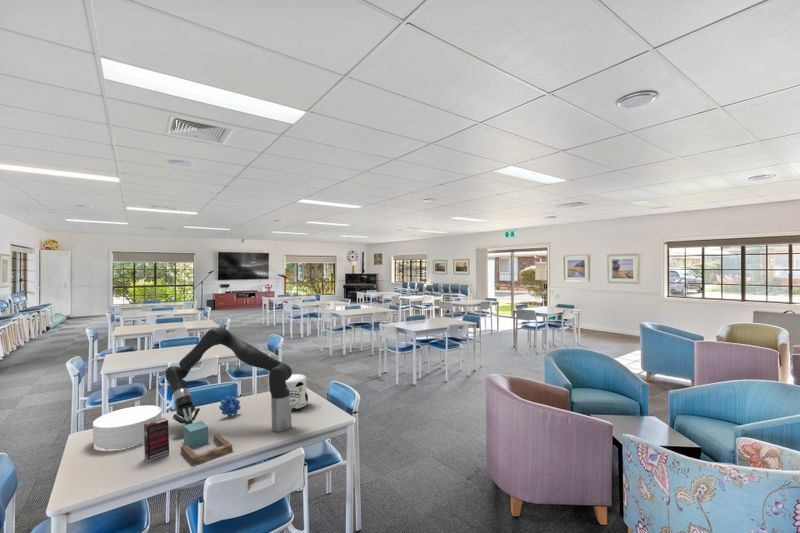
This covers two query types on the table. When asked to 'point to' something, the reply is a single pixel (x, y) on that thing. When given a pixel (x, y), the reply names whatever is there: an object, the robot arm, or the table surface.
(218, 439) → the walnut bay
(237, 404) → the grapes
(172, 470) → the table surface
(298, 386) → the milk container
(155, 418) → the plate stack
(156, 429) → the supplement box
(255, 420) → the table surface
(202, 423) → the teal block
